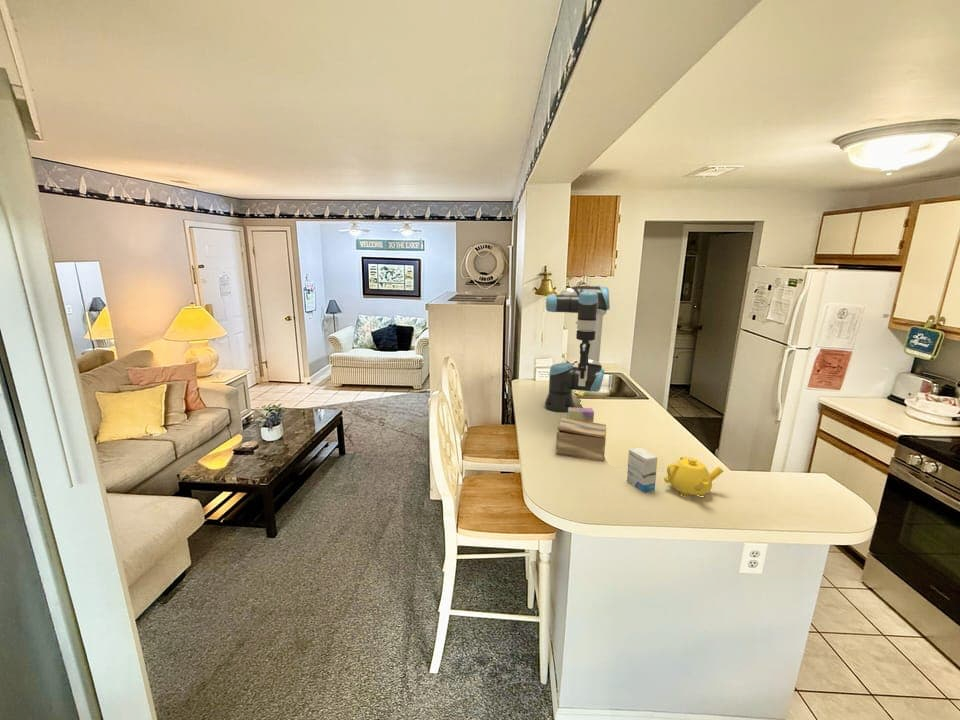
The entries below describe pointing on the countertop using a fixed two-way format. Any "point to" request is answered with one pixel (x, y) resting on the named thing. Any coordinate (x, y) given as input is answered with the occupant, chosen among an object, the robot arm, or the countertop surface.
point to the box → (581, 414)
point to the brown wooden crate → (580, 445)
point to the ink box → (642, 469)
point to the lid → (582, 427)
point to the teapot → (691, 477)
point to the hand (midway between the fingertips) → (582, 382)
